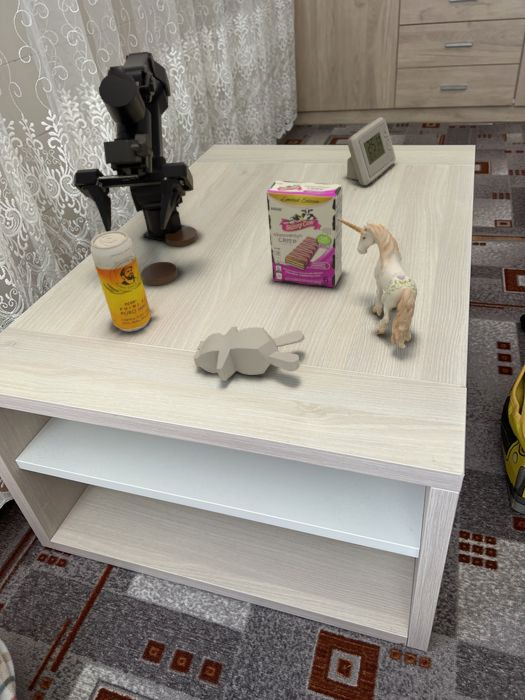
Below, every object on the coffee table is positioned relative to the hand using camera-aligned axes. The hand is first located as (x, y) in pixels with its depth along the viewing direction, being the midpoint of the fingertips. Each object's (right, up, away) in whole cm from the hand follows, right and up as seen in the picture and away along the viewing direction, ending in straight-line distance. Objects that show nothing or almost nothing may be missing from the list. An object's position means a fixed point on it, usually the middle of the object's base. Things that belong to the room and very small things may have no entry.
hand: (135, 230), depth 90 cm
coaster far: (+5, +3, +20) cm, 21 cm away
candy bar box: (+29, -8, +5) cm, 30 cm away
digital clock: (+46, +21, +38) cm, 63 cm away
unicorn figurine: (+37, -15, -6) cm, 41 cm away
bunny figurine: (+19, -22, -12) cm, 32 cm away
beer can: (0, -15, -1) cm, 15 cm away
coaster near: (+2, -6, +10) cm, 12 cm away
